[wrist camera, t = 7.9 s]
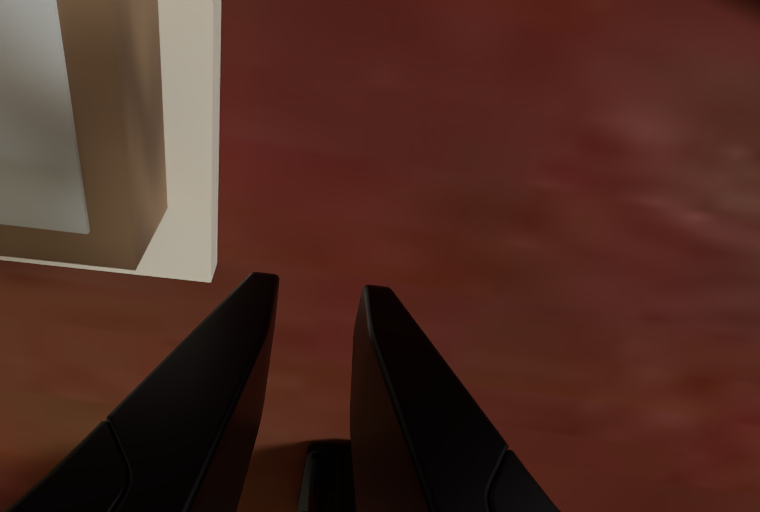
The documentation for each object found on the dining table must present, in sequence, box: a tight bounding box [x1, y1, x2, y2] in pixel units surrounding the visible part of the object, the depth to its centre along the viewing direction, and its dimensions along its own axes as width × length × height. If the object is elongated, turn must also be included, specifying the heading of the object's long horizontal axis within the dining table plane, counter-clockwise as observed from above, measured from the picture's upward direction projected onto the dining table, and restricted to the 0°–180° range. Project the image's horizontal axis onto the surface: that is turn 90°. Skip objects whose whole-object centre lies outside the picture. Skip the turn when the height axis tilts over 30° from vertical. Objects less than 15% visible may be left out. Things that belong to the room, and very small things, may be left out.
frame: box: [0, 0, 168, 271], centre depth 14 cm, size 10×6×4 cm, turn 170°
